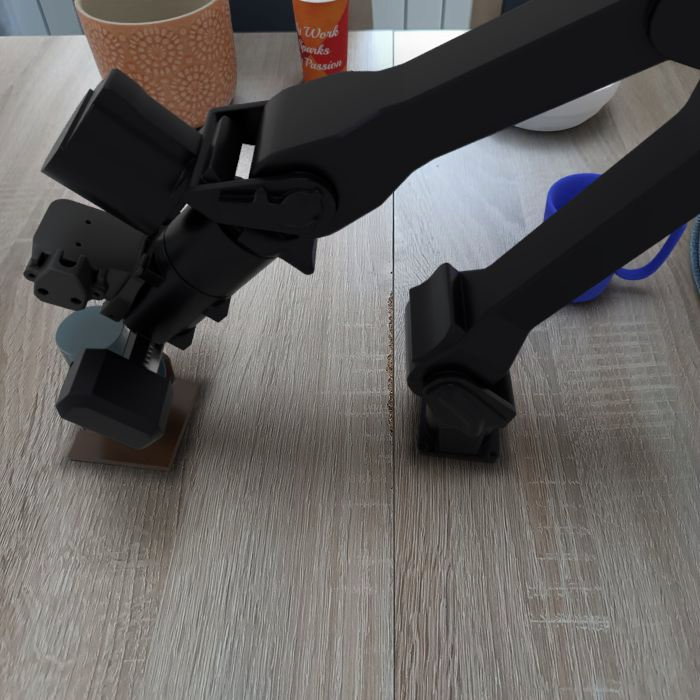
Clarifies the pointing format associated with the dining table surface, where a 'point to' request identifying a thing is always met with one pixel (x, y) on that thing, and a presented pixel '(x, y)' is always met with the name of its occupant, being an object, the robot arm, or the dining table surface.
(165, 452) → the cup holder
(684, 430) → the dining table surface
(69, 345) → the blue-grey flanged cylinder
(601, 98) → the bowl
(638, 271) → the mug
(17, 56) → the dining table surface
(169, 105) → the planter
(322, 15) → the paper cup
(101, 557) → the dining table surface
